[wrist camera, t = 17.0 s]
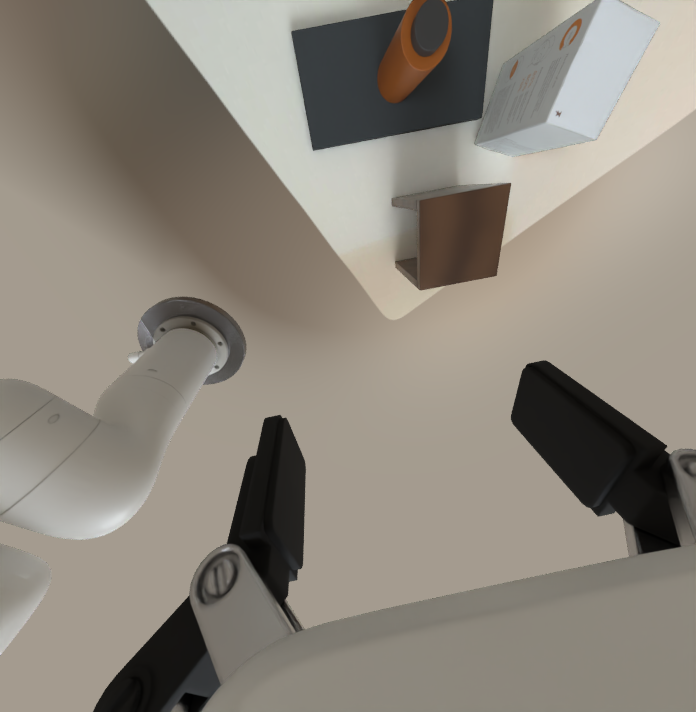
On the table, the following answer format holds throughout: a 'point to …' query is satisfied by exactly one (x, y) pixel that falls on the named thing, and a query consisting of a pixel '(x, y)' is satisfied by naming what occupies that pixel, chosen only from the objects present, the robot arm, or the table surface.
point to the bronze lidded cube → (456, 234)
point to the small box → (566, 81)
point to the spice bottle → (415, 48)
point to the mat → (360, 69)
